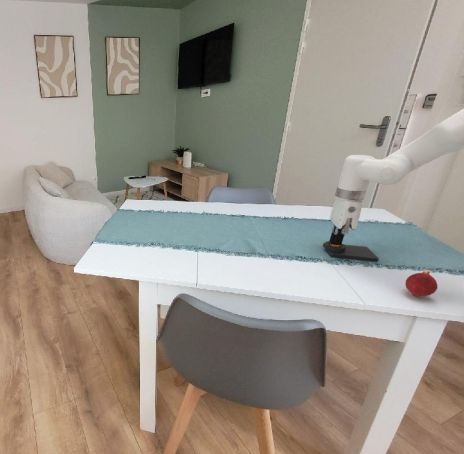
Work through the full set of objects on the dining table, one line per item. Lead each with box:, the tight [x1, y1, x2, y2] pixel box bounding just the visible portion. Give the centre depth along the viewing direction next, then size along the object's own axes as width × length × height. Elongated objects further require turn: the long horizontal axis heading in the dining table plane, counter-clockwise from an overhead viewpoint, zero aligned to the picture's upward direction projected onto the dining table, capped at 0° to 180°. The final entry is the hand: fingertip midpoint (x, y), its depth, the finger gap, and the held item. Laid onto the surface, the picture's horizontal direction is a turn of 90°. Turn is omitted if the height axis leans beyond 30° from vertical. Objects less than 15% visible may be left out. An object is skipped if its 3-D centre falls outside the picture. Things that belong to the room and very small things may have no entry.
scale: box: [322, 240, 379, 263], centre depth 102 cm, size 14×9×3 cm, turn 70°
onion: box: [404, 269, 438, 298], centre depth 78 cm, size 6×6×8 cm
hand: (335, 243), depth 102 cm, fingers closed
